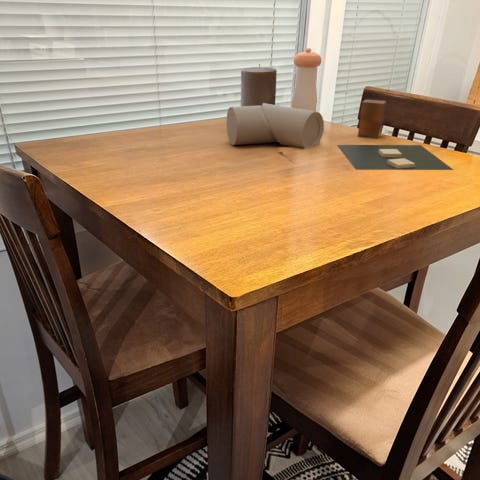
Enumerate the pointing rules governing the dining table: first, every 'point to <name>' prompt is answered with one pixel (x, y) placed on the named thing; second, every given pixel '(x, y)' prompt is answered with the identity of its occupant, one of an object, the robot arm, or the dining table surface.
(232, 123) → the l-shaped cylinder
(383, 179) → the dining table surface
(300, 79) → the pepper shaker
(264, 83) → the pillar candle
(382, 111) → the brown upright block
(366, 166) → the board
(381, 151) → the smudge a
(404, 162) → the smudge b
